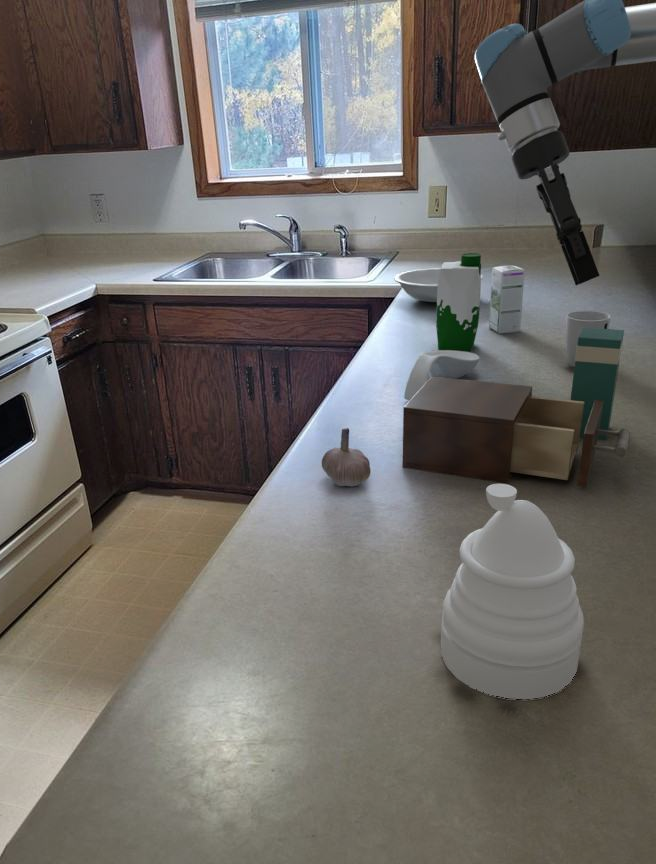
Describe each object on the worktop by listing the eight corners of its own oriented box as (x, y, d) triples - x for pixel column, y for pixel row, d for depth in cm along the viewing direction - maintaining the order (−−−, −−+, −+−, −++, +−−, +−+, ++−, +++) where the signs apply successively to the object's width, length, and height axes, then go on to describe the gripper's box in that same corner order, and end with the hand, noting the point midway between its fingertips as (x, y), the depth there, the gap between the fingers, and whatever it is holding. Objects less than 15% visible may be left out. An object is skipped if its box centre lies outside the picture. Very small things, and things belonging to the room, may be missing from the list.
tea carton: (609, 426, 121) (624, 329, 113) (606, 440, 116) (621, 340, 109) (570, 421, 123) (582, 327, 116) (565, 435, 118) (577, 337, 111)
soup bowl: (376, 301, 208) (376, 277, 205) (435, 287, 220) (436, 264, 217) (440, 315, 190) (441, 289, 187) (500, 299, 203) (501, 274, 200)
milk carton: (475, 353, 159) (481, 258, 150) (433, 352, 162) (436, 258, 153) (478, 342, 167) (484, 251, 158) (438, 341, 169) (441, 251, 160)
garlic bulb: (333, 465, 112) (332, 416, 108) (379, 472, 109) (379, 422, 106) (313, 486, 106) (311, 435, 102) (361, 494, 103) (360, 442, 99)
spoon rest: (430, 363, 155) (431, 329, 152) (485, 369, 150) (487, 334, 147) (387, 399, 137) (387, 362, 133) (448, 407, 131) (450, 369, 128)
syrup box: (521, 331, 173) (526, 268, 166) (497, 334, 172) (501, 270, 166) (510, 326, 178) (515, 264, 172) (487, 328, 177) (491, 266, 171)
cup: (604, 372, 145) (611, 321, 140) (560, 369, 147) (566, 320, 143) (602, 359, 152) (609, 311, 147) (561, 357, 154) (566, 310, 150)
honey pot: (454, 703, 66) (465, 529, 58) (430, 616, 78) (436, 461, 70) (598, 697, 66) (629, 522, 58) (553, 611, 77) (573, 455, 69)
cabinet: (526, 444, 116) (532, 386, 111) (508, 483, 104) (513, 420, 100) (430, 431, 122) (432, 376, 118) (402, 467, 110) (403, 407, 106)
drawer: (627, 453, 109) (635, 403, 106) (619, 492, 98) (628, 438, 95) (498, 436, 117) (502, 390, 113) (479, 471, 106) (482, 421, 102)
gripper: (513, 168, 119) (559, 292, 121) (505, 137, 96) (563, 291, 98) (559, 145, 116) (606, 272, 118) (562, 108, 93) (621, 266, 95)
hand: (587, 281), depth 108 cm, fingers open, 13 cm apart
